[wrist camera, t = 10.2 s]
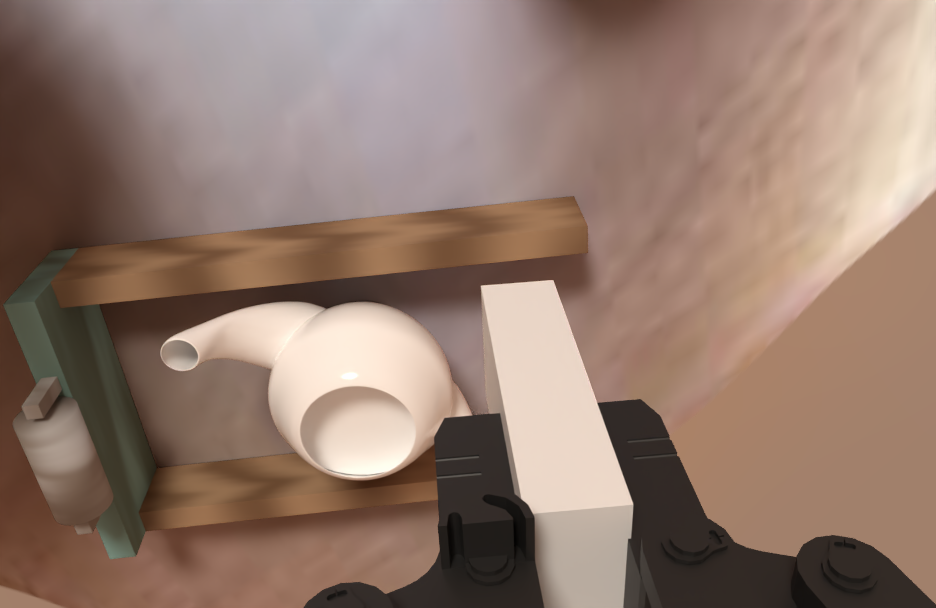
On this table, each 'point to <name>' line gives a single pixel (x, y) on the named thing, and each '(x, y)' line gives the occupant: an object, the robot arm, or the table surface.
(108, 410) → the bay
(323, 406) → the teapot
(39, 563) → the table surface
